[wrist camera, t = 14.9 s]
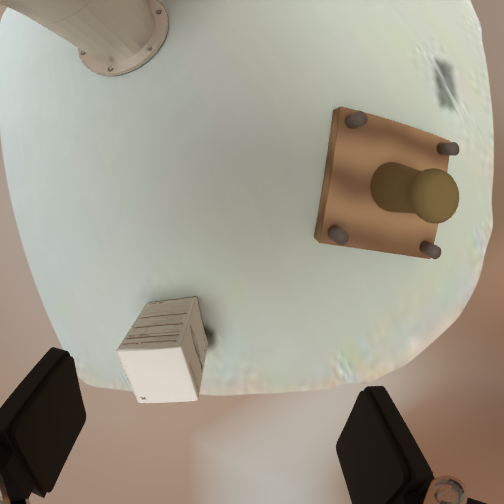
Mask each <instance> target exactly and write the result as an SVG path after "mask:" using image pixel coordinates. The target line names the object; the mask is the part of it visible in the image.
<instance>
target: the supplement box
mask: <svg viewBox="0 0 504 504" xmlns="http://www.w3.org/2000/svg"><path fill="white" fill-rule="evenodd" d="M207 345H208V341H207V338H206V334H205V331H204V327H203V323H202V319H201V314H200V310H199V305H198V300H197V297H191V298H183V299H175V300H167V301H159V302H151V303H147V304H146V306H145V307H144V309H143V310H142V312H141V313H140V315H139V316H138V318H137V319H136V321H135V322H134V324H133V326H132V327H131V329H130V330H129V332H128V333H127V335H126V337H125V338H124V340H123V341H122V343H121V344H120V346H119V347H118V349H117V355H118V357H119V360H120V362H121V364H122V367H123V369H124V372H125V374H126V376H127V379H128V381H129V383H130V385H131V388H132V390H133V392H134V394H135V397H136V399H137V401H138V403H163V402H183V401H184V402H185V401H196V400H198V397H199V391H200V385H201V379H202V373H203V368H204V362H205V356H206V351H207Z"/></svg>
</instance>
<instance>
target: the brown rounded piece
mask: <svg viewBox="0 0 504 504" xmlns="http://www.w3.org/2000/svg"><path fill="white" fill-rule="evenodd" d="M370 189H371V195H372V197H373V200H374V202H375V203H376V204H377V205H378V206H379V207H380V208H381V209H383V210H385V211H389V212H400V213H414V214H417V216H418V217H419V218H421V219H422V220H424V221H426V222H428V223H434V224H437V223H442V222H445V221H446V220H448V219H449V218H451V217H452V215H453V214H454V213H455V211H456V209H457V207H458V202H459V191H458V188H457V184H456V183H455V181H454V179H453V178H452V177H451V176H450V175H449V174H448V173H447V172H445V171H443V170H440V169H437V168H431V169H426V170H423V171H420V170H417V169H414V168H411V167H408V166H405V165H402V164H399V163H395V162H388V163H384V164H383V165H381V166H379V167H378V168H377V169H376V171H375V172H374V174H373V176H372V178H371V184H370Z"/></svg>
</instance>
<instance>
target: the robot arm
mask: <svg viewBox="0 0 504 504" xmlns="http://www.w3.org/2000/svg"><path fill="white" fill-rule="evenodd" d="M0 4H1V5H5V6H7V7H9V8H11V9H14V10H16V11H18V12H20V13H21V14H23V15H25V16H27V17H29V18H30V19H32V20H34V21H36V22H38V23H39V24H41V25H43V26H44V27H46V28H48V29H49V30H51V31H53V32H54V33H56V34H57V35H59V36H61V37H62V38H64V39H65V40H67V41H69V42H70V43H72V44H73V45H75V46H76V47H78V52H79V57H80V59H81V61H82V63H83V64H84V65H85V66H86V67H87V68H88V69H89V70H91V71H93V72H95V73H97V74H99V75H104V76H116V75H122V74H125V73H128V72H131V71H133V70H135V69H137V68H139V67H140V66H142V65H143V64H144V63H146V62H147V61H148V60H149V59H151V58H152V57H153V56H154V55H155V54H156V52H157V51H158V50H159V48H160V47H161V45H162V44H163V42H164V40H165V37H166V34H167V31H168V16H167V14H166V11H165V9H164V8H163V6H162V5H161V4H160V2H159V1H158V0H0ZM150 49H152V50H151V51H150ZM112 69H113V70H112ZM85 420H86V412H85V408H84V404H83V400H82V396H81V391H80V387H79V383H78V378H77V373H76V368H75V363H74V359H73V357H71V356H70V354H69V352H68V351H65V350H61V349H58V348H55V347H52V348H51V349H50V350H49V351H48V352H47V353H46V354H45V355H44V356H43V358H42V359H41V360H40V361H39V362H38V363H37V364H36V366H35V367H34V368H33V369H32V370H31V371H30V372H29V374H28V375H27V376H26V377H25V378H24V380H23V381H22V382H21V383H20V384H19V386H18V387H17V388H16V389H15V390H14V392H13V393H12V394H11V395H10V396H9V398H8V399H7V400H6V401H5V403H4V404H3V405H2V407H1V408H0V504H30V501H29V496H30V494H31V492H32V493H34V494H36V495H38V496H41V497H43V498H44V497H45V495H46V493H47V492H51V491H52V489H53V487H54V485H55V483H56V481H57V479H58V476H59V474H60V472H61V470H62V468H63V466H64V463H65V462H66V460H67V457H68V455H69V453H70V451H71V449H72V447H73V445H74V443H75V441H76V439H77V437H78V435H79V433H80V431H81V429H82V427H83V425H84V423H85ZM336 451H337V455H338V458H339V461H340V465H341V468H342V471H343V475H344V478H345V481H346V484H347V488H348V491H349V495H350V498H351V501H352V504H486V503H483V502H480V501H477V500H474V499H471V498H468V491H467V488H466V486H465V484H464V483H463V482H462V481H461V480H460V479H458V478H456V477H454V476H450V475H443V476H439V477H437V478H434V476H433V472H432V471H431V469H430V467H429V465H428V463H427V461H426V459H425V458H424V456H423V454H422V452H421V450H420V448H419V447H418V445H417V443H416V441H415V439H414V438H413V436H412V434H411V432H410V431H409V429H408V427H407V425H406V423H405V422H404V420H403V418H402V416H401V415H400V413H399V411H398V410H397V408H396V406H395V404H394V403H393V401H392V399H391V398H390V396H389V394H388V392H387V391H386V389H385V388H384V387H383V386H371V387H370V386H368V387H366V388H365V389H364V391H361V392H360V393H359V395H358V397H357V400H356V402H355V404H354V407H353V409H352V411H351V413H350V416H349V418H348V420H347V422H346V425H345V427H344V429H343V431H342V433H341V435H340V437H339V439H338V441H337V444H336Z"/></svg>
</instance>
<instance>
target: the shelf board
mask: <svg viewBox="0 0 504 504" xmlns="http://www.w3.org/2000/svg"><path fill="white" fill-rule="evenodd" d="M458 153H459V146H458V144H457V143H455V142H451V141H449V140H446V139H444V138H441V137H438V136H436V135H433V134H430V133H427V132H425V131H422V130H419V129H416V128H413V127H410V126H407V125H404V124H401V123H398V122H395V121H392V120H388V119H385V118H382V117H378V116H375V115H371V114H368V113H364V112H362V111H356V110H352V109H348V108H344V107H339V108H337V109H335V110H334V111H333V117H332V125H331V132H330V140H329V147H328V154H327V161H326V168H325V174H324V181H323V187H322V193H321V199H320V205H319V211H318V217H317V223H316V228H315V234H314V238H315V239H316V240H317V241H318V242H319V243H324V244H331V245H339V246H346V247H353V248H360V249H367V250H374V251H381V252H387V253H394V254H401V255H407V256H414V257H421V258H427V259H430V257H431V258H433V259H437V258H439V257H440V255H441V249H440V247H438V246H436V245H434V241H435V236H436V232H437V227H438V223H437V224H434V223H428V222H426V221H424V220H422V219H421V218H419V217H418V216H417V214H414V213H400V212H389V211H385V210H383V209H381V208H380V207H379V206H378V205H377V204H376V203H375V202H374V200H373V197H372V195H371V189H370V184H371V178H372V176H373V174H374V172H375V171H376V169H377V168H378V167H379V166H381V165H383V164H384V163H388V162H395V163H399V164H402V165H405V166H408V167H411V168H414V169H417V170H420V171H423V170H426V169H431V168H437V169H440V170H443V171H445V172H447V169H448V162H449V155H457V154H458Z"/></svg>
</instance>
